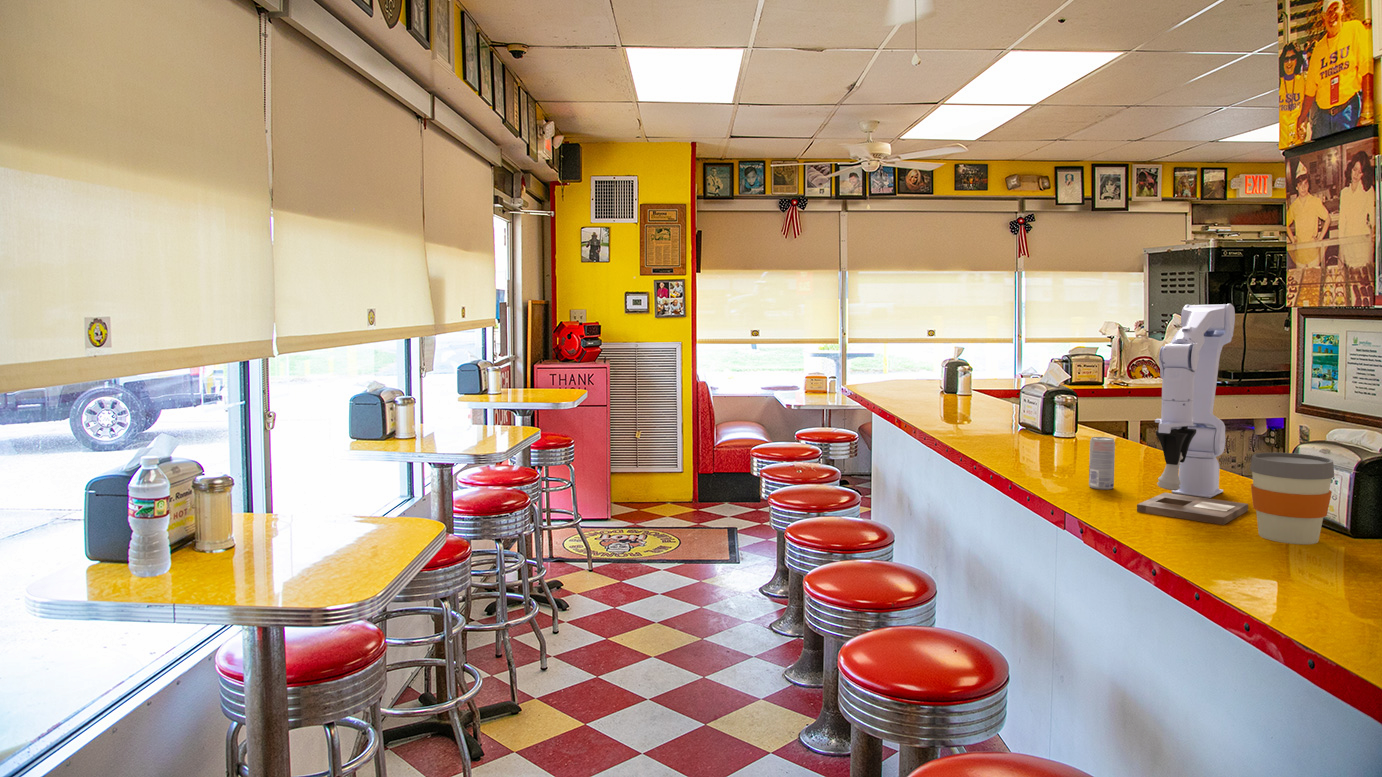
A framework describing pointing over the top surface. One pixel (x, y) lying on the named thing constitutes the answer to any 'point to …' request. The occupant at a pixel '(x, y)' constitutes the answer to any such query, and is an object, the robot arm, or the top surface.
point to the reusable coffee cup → (1291, 495)
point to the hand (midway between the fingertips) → (1175, 463)
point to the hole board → (1193, 508)
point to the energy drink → (1101, 463)
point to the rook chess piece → (1170, 477)
